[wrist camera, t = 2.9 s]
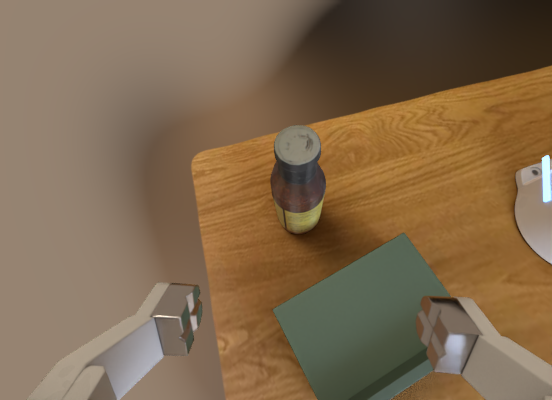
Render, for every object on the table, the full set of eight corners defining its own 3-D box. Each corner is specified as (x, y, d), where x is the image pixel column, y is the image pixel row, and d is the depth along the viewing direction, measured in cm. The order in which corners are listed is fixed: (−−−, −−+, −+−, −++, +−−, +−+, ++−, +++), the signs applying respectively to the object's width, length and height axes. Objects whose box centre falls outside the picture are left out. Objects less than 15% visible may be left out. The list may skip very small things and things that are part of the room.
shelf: (385, 243, 40) (413, 226, 31) (441, 324, 36) (491, 331, 27) (275, 308, 38) (270, 310, 29) (322, 401, 34) (334, 436, 25)
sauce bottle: (327, 211, 42) (356, 139, 23) (302, 244, 41) (313, 195, 22) (292, 187, 44) (293, 102, 25) (267, 218, 42) (249, 152, 24)
